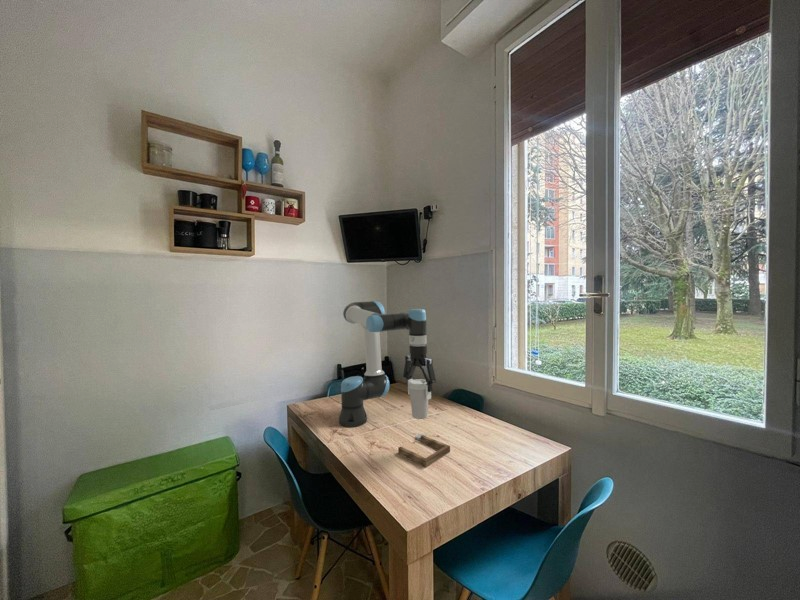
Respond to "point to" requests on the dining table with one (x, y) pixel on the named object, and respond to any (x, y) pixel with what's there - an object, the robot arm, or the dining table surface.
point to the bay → (430, 459)
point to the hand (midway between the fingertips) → (419, 396)
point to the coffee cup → (418, 398)
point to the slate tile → (419, 436)
